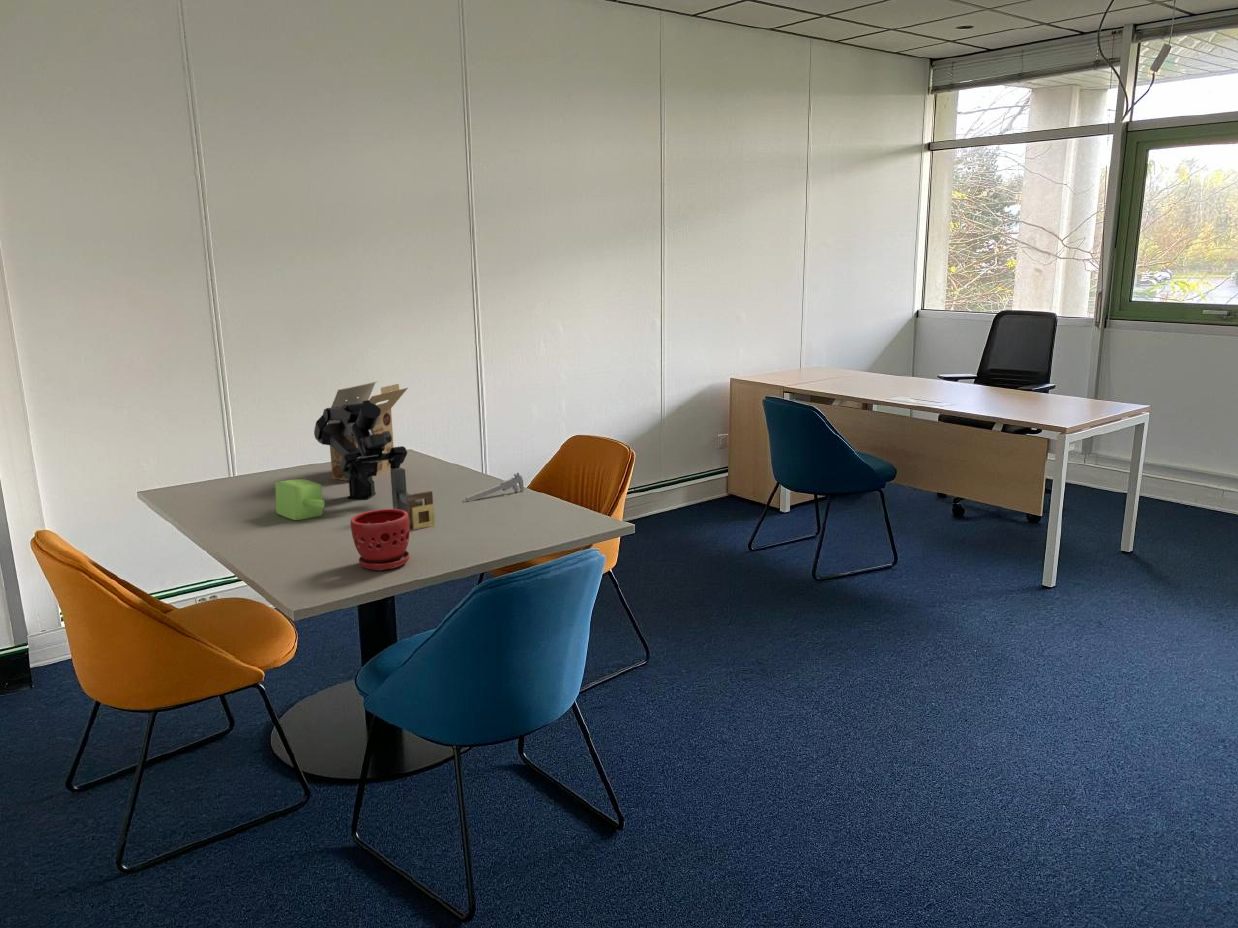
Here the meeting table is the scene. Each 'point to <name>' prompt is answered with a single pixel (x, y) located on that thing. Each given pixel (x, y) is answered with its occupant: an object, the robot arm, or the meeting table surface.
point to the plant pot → (381, 538)
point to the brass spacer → (415, 516)
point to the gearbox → (299, 499)
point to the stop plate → (411, 502)
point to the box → (382, 423)
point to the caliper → (499, 488)
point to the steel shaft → (400, 489)
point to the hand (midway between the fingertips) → (383, 482)
